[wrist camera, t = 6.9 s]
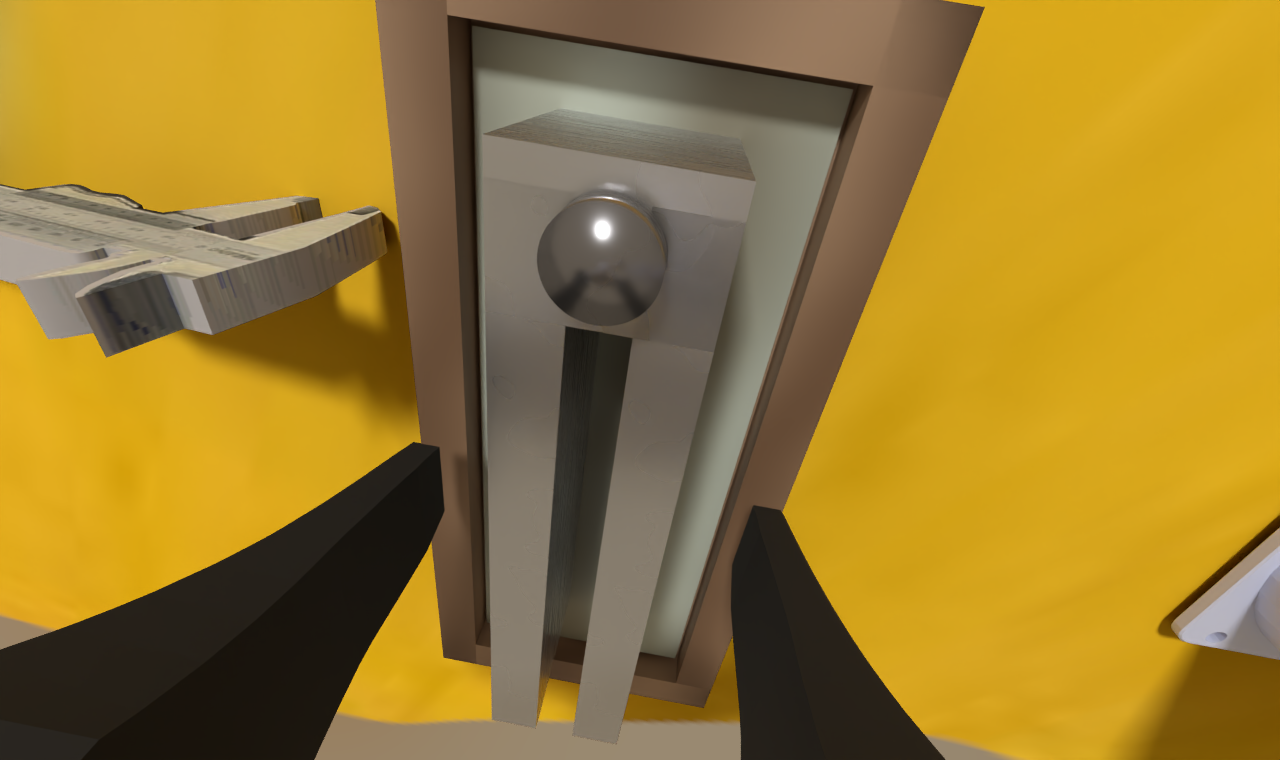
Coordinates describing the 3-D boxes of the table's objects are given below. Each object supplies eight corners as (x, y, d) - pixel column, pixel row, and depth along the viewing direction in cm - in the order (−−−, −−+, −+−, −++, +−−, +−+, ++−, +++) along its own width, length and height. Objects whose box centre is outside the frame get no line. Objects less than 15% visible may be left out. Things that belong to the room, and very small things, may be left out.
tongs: (740, 138, 10) (760, 192, 6) (634, 610, 17) (613, 770, 14) (560, 107, 10) (462, 140, 6) (534, 591, 18) (483, 744, 14)
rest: (935, 16, 9) (984, 7, 8) (704, 653, 20) (703, 707, 19) (426, -67, 10) (365, -94, 8) (465, 607, 20) (443, 657, 19)
